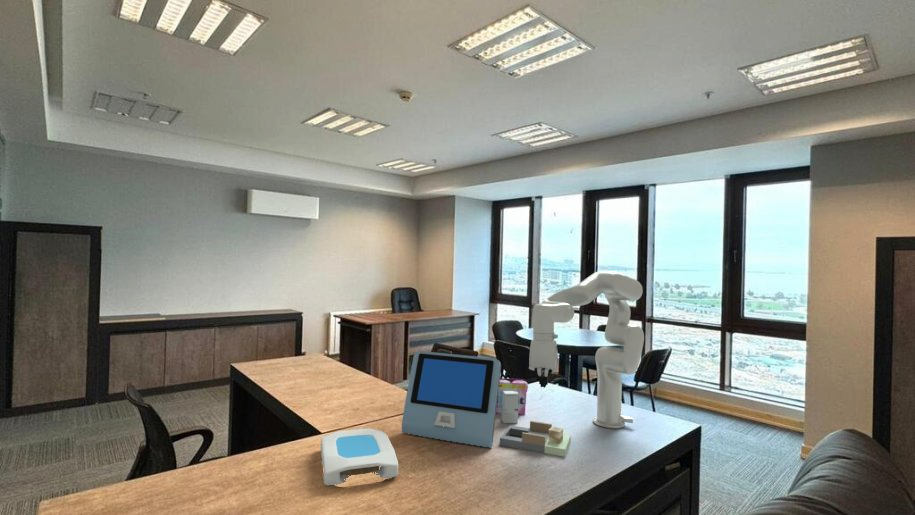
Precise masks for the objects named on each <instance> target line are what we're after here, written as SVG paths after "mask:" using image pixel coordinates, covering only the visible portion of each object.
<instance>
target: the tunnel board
mask: <svg viewBox="0 0 915 515" xmlns="http://www.w3.org/2000/svg"><path fill="white" fill-rule="evenodd" d="M552 424H553V423H548V422H541V421H534V420H530V421H529V428H528V427H522V426H516V425H511V424H510V425H509V426H508V427H507V429H506V430H505V431H504V432H503V434H502V435H500V437H499V446H503V447H509V448H513V449H514V448H515V449H520V450H524V451H530V452H536V453H540V454H541V453H542V454H547V455H552V456H553V455H554V456H559V457H563V458H565V457H566V456H567V453H568V450H569V448H570V446H571V442H572V435H571V434H566V433H563V440H562V442H561V443H560V444H558V443H554V442H550V441H549V429H550V428H551V427H552V426H553V425H552Z"/></svg>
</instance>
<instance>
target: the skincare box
mask: <svg viewBox="0 0 915 515" xmlns="http://www.w3.org/2000/svg"><path fill="white" fill-rule="evenodd" d="M518 400H519V394H518V393H517V392H516V391H503V396H502V413H501V422H502V423H503V424H518V420H519V414H518Z"/></svg>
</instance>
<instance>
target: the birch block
mask: <svg viewBox="0 0 915 515" xmlns="http://www.w3.org/2000/svg"><path fill="white" fill-rule="evenodd" d="M563 434H564V428H561V427H557V426H553V425H552V427H551V428H550V429H549V441H550V442H554V443H558V444H560V443H561V442H562V440H563Z"/></svg>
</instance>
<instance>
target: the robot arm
mask: <svg viewBox="0 0 915 515" xmlns="http://www.w3.org/2000/svg"><path fill="white" fill-rule="evenodd" d="M643 290H644V289H643V285H642V284H641V283H640V281H638V280H637V279H634V278H632V277H631V276H628V275H625V274H623V273H622V272H618V271H605V270H603V271H601V270H600V271H596V272H593V273H591V275H589V276H588V277H586V278H585V279H583V280H582V281H579V283H578V284H576V285H574V286H571V287H569V288H565V289H562V290H560V291H557V292H555V293H553V294H551V295H550V296H548V297H547V298H545V299H544V300H543V301H542V302H540V303H535V304H534V305H533V309H532V310H533V312H532V316H533V317H532V319H533V320H532V322H533V324H532V325H533V326H532V339H531V341H530V347H529V359H528V360H529V361H528V362H529V363H528V364H529V366H528V369H529V370H531V371H534V372H535V373H536V374H537V375H538V385H540V388H546V387H547V385H548V384H549V378H548V376H550V375H551V374H552V373H558V371H559V367H558V365H559V354H558V344H557V341H556V340H555V339H559V338H558V337H559V334H556V333H555V323H561V324H565V323H568V322H571V321H572V319H573V318H574V316H575V309H574V307H581V306H585V305H588V304H590V303H591V302H593V301H594V300H595V299H596V298H598V297H599V296H601V295H602V294H603V295H604V297H605V298H606V300H607V303H608V306H609V312H608V318H607V321H606V326H605V330H604V339H605V340H606V342H607V343H609V344H612V345H616V346H622V347H623V348H618V347H614V346H610V345H609V346H608V345H607V346H606V345H603V346H601V347H599V348H597V350H596V352H595V355H594V356H595V364H596V372H597V384H596V385H597V394H596V396H597V397H596V399H597V400H596V416H594V417H593V418H592V422H593V424H595V425H597V426H600V427H602V428H607V429H622V428H625V427H626V423H629V424H634V417H630V416H626V415H624V414H623V412H622V390H623V389H622V388H623V387H622V386H623V385H622V384H623V383H622V378H621V374H622V375H627V376H629V375H633V374H635V373H636V371H638V368H639V365H640V361H641V356H642V352H643V347H644V342H645V334H644V333H645V332H644V331H643V329H642V327H641V326H639V325H637V324H633V323H630V320H631V312H632V311H631V307H630V306H629V304H628V302H627V301H630V302H631V301H638V300H639V299H641V298H642V295H643V292H644V291H643ZM543 369H544V373H543Z"/></svg>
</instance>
